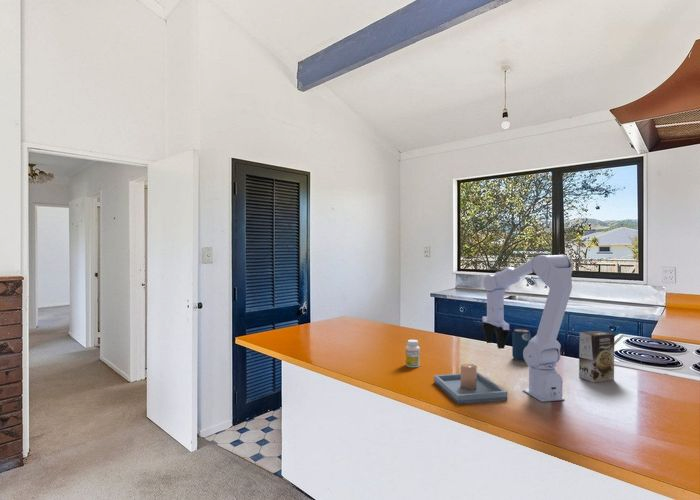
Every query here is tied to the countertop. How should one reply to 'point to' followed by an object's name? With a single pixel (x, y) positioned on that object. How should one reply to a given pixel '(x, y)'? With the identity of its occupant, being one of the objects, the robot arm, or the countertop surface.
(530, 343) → the robot arm
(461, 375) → the pillar candle
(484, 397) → the tray
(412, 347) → the supplement bottle
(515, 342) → the soda can
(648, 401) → the countertop surface
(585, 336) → the coffee box
